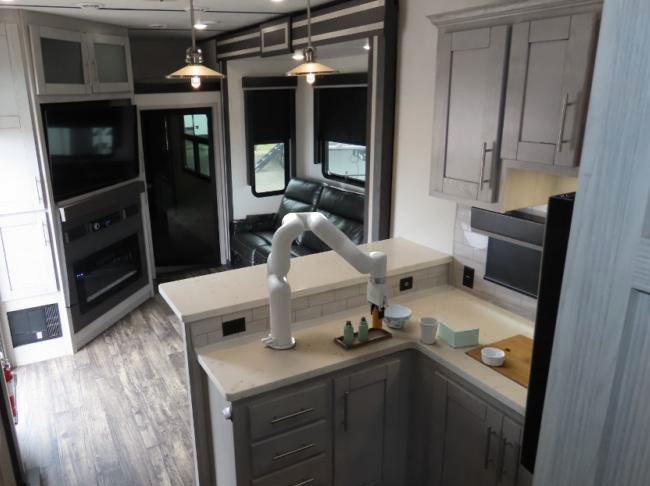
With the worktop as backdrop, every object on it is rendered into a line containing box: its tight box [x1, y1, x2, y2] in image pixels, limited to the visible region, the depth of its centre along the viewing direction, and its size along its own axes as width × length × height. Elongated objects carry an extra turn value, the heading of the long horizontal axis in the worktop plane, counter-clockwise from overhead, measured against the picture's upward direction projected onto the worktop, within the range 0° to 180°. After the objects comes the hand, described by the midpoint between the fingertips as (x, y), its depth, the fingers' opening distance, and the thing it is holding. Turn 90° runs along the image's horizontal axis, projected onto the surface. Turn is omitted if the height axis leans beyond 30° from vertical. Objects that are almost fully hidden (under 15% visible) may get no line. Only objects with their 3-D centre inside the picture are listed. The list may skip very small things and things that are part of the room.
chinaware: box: [381, 304, 412, 330], centre depth 245 cm, size 15×15×8 cm
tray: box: [333, 326, 393, 351], centre depth 233 cm, size 25×10×2 cm, turn 116°
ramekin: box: [480, 347, 506, 367], centre depth 209 cm, size 9×9×4 cm
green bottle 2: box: [357, 316, 369, 341], centre depth 232 cm, size 5×5×10 cm
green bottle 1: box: [342, 320, 355, 345], centre depth 229 cm, size 5×5×10 cm
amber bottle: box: [371, 305, 384, 328], centre depth 234 cm, size 5×5×10 cm
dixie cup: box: [418, 316, 440, 345], centre depth 228 cm, size 8×8×10 cm
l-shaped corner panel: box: [438, 320, 480, 349], centre depth 228 cm, size 12×12×8 cm
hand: (377, 315), depth 234 cm, fingers closed on amber bottle, 4 cm apart
